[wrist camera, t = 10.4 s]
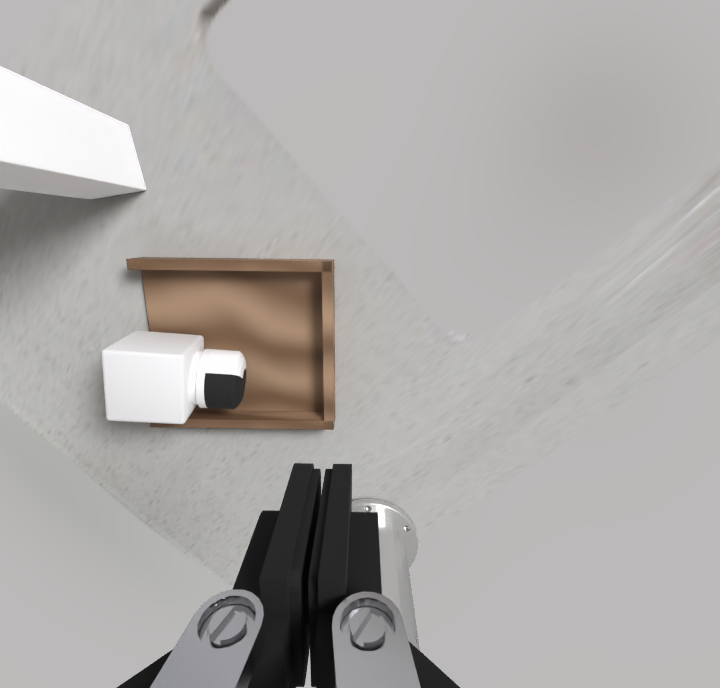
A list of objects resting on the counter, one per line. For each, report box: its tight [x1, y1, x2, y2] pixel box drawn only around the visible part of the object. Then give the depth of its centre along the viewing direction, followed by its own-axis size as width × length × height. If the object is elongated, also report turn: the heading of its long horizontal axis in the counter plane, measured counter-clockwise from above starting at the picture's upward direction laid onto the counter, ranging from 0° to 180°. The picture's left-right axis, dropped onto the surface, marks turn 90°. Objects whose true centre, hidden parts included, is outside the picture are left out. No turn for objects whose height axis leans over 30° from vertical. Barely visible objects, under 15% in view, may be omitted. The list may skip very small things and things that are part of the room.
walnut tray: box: [126, 257, 335, 430], centre depth 42 cm, size 18×20×3 cm
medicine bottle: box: [101, 331, 246, 424], centre depth 40 cm, size 7×7×12 cm
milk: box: [0, 66, 146, 199], centre depth 28 cm, size 6×6×22 cm
